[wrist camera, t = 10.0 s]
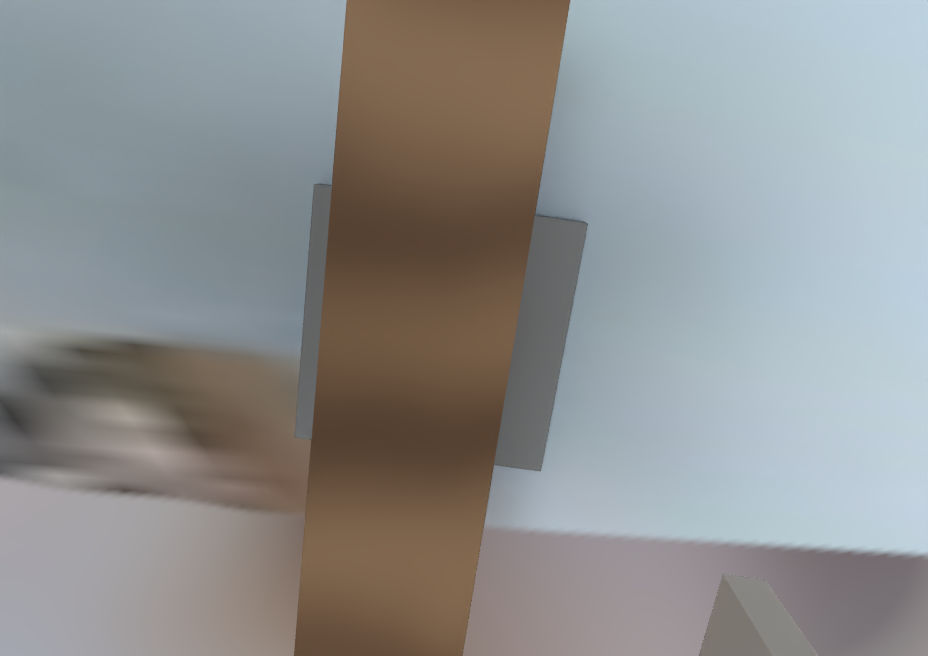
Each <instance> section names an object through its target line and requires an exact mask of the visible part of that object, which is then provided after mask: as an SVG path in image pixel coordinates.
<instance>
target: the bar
mask: <svg viewBox="0 0 928 656" xmlns="http://www.w3.org/2000/svg"><path fill="white" fill-rule="evenodd" d="M569 4H570V0H347V4H346V17H345V29H344V42H343V54H342V67H341V79H340V91H339V104H338V116H337V129H336V141H335V154H334V166H333V179H332V191H331V203H330V216H329V228H328V241H327V253H326V266H325V278H324V290H323V303H322V315H321V328H320V340H319V353H318V365H317V378H316V390H315V402H314V415H313V427H312V440H311V452H310V465H309V477H308V490H307V502H306V514H305V528H304V539H303V540H304V541H303V552H302V564H301V577H300V589H299V602H298V614H297V627H296V639H295V651H294V656H462V654H463V649H464V643H465V637H466V631H467V625H468V619H469V613H470V606H471V601H472V594H473V588H474V582H475V576H476V570H477V564H478V558H479V552H480V546H481V539H482V534H483V528H484V522H485V516H486V509H487V503H488V497H489V491H490V485H491V479H492V473H493V467H494V461H495V455H496V449H497V443H498V436H499V430H500V424H501V418H502V412H503V406H504V400H505V394H506V388H507V382H508V376H509V369H510V363H511V357H512V351H513V345H514V339H515V333H516V327H517V321H518V315H519V309H520V303H521V296H522V290H523V284H524V278H525V272H526V266H527V260H528V254H529V248H530V242H531V236H532V230H533V223H534V217H535V211H536V205H537V199H538V193H539V187H540V181H541V175H542V169H543V163H544V157H545V150H546V144H547V138H548V132H549V126H550V120H551V114H552V108H553V102H554V96H555V90H556V84H557V77H558V71H559V65H560V59H561V53H562V47H563V41H564V35H565V29H566V23H567V17H568V11H569Z"/></svg>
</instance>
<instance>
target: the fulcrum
mask: <svg viewBox="0 0 928 656" xmlns="http://www.w3.org/2000/svg"><path fill="white" fill-rule="evenodd" d="M331 191H332V185H325V184H314V191H313V204H312V217H311V230H310V243H309V256H308V269H307V282H306V295H305V308H304V322H303V335H302V348H301V361H300V374H299V387H298V400H297V413H296V426H295V438H302V439H310V440H312V427H313V415H314V402H315V390H316V378H317V365H318V353H319V340H320V328H321V315H322V303H323V290H324V278H325V266H326V253H327V241H328V228H329V216H330V203H331ZM587 226H588V224H587V223H585V222H581V221H575V220H568V219H561V218H554V217H547V216H540V215H535V217H534V223H533V230H532V236H531V242H530V248H529V254H528V260H527V266H526V272H525V278H524V284H523V290H522V296H521V303H520V309H519V315H518V321H517V327H516V333H515V339H514V345H513V351H512V357H511V363H510V369H509V376H508V382H507V388H506V394H505V400H504V406H503V412H502V418H501V424H500V430H499V436H498V443H497V449H496V455H495V461H494V465H498V466H506V467H513V468H520V469H527V470H535V471H541V468H542V462H543V457H544V452H545V447H546V441H547V436H548V431H549V426H550V420H551V415H552V410H553V405H554V399H555V394H556V389H557V384H558V378H559V373H560V368H561V363H562V357H563V352H564V347H565V342H566V336H567V331H568V326H569V321H570V315H571V310H572V305H573V300H574V294H575V289H576V284H577V278H578V273H579V268H580V263H581V257H582V252H583V247H584V242H585V236H586V231H587Z"/></svg>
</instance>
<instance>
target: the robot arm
mask: <svg viewBox="0 0 928 656" xmlns="http://www.w3.org/2000/svg"><path fill="white" fill-rule="evenodd" d="M699 656H818V655H817V653H816V652H815V650H814V649H813V648H812V646H811V645H810V643H809V642H808V640H807V639H806V638H805V636H804V635H803V633H802V632H801V630H800V629H799V628H798V626H797V625H796V623H795V622H794V620H793V619H792V618H791V616H790V615H789V613H788V612H787V610H786V609H785V608H784V606H783V605H782V603H781V602H780V600H779V599H778V597H777V596H776V595H775V593H774V592H773V591H772V589H771V587H770V586H769V585H768V583H767V582H766V580H765V579H759V578H751V577H743V576H735V575H726V574H723V575H722V579H721V582H720V586H719V589H718V592H717V596H716V599H715V602H714V606H713V609H712V613H711V616H710V619H709V623H708V626H707V630H706V633H705V636H704V640H703V643H702V647H701V650H700V653H699Z"/></svg>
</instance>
